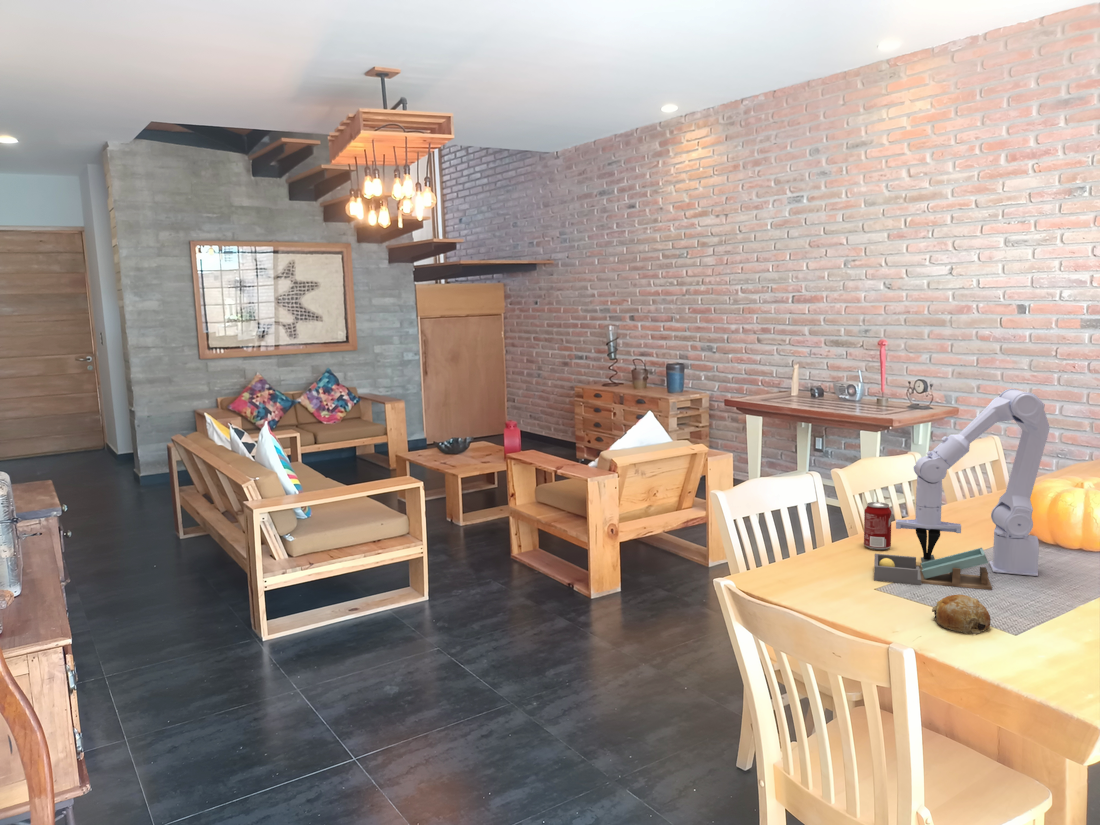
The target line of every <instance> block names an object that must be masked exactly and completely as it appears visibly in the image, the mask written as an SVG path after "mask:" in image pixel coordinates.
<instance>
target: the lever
mask: <svg viewBox="0 0 1100 825" xmlns="http://www.w3.org/2000/svg"><path fill="white" fill-rule="evenodd" d="M920 560H921V562H920V565H921V568H922V569H921V571H922V573H923V575H924V578H925V579H926V578H930V577H934V576H938V575H942V574H946V573H950V572H953V568H960V569H961V571H962V570H965V569H970V568H975V567H978V566H982V565H985V564H989V561H988V559H987V555H986V554H985V551H984V548H983V547H978V548H975V549H971V550H967V551H963V552H959V553H955V554H951V555H948V556H944V557H941V558H940V557H939V558H935V555H934V554H931V559H930V560H926V559H924V558H923V556H922V557H920Z"/></svg>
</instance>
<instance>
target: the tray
mask: <svg viewBox="0 0 1100 825" xmlns="http://www.w3.org/2000/svg"><path fill="white" fill-rule="evenodd" d="M884 558H889V559H891V560H892V561H893V562H894V564H895V567H887V566H879V562H880V561H881V560H882V559H884ZM873 563H874V566H873V567H874V569H873V572H874V573H873V581H875V582H883V583H884V582H885V583H886V582H887V583H895V584H896V583H897V584H905V585H907V584H908V585H916V586H917V585H918V586H922V583H921V575H920V570H921V569H920V566H918V565H917V557H916V556H908V555H899V554H898V555H896V554H884V553H883V554H882V553H874V562H873Z"/></svg>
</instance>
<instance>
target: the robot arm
mask: <svg viewBox="0 0 1100 825" xmlns="http://www.w3.org/2000/svg"><path fill="white" fill-rule="evenodd" d="M1007 421H1009V422H1010V421H1014V423H1015V424H1017V426H1018V427H1019V428H1020V430H1021V434H1020V435H1021V436H1020V438H1019V442H1018V445H1017V450H1016V453H1015V457H1014V459H1013V460H1014V461H1013V464H1012V468H1011V472H1010V474H1009V475H1010V476H1009V479H1008V483H1007V485H1006V489H1005V492H1004V493H1003V494H1002V495H1000V497H999V499H998V502H997V504H996V505H995V506H994V507H993V509H992V510H991V513H990V515H991V516H990V518H991V520H992V523H994V525H995V528H994V529H993V549H992V550H993V551H992V552H993V553H992V560H989V561H988V564H989V566H990V568H991V571H992V572H993V573H999V574H1000V573H1001V574H1012V575H1023V576H1032V577H1033V576H1035V577H1038V576H1039V557H1040V556H1039V555H1040V546H1039V545H1040V544H1039V538H1038V536H1037V535H1031V534H1030V533H1031V532H1032V530H1033V528H1034V522H1033V517H1032V515H1033V511H1034V508H1033V506H1032V501H1031V497H1032V494H1033V490H1034V486H1035V482H1036V480H1037V476H1038V472H1039V468H1040V464H1041V462H1042V457H1043V454H1044V450H1045V447H1046V444H1047V440H1048V437H1049V433H1050V429H1051V428H1050V427H1051V426H1050V424H1049V420H1048V418H1047V414H1046V410H1045V403H1044V402H1043V401H1042V400H1041V399H1040V398H1039V396H1038V395H1036V394H1035V393H1033V392H1029V391H1028V392H1027V391H1022V390H1019V389H1017V388H1008V389H1006V390H1004V391H1002V392H1001V393H1000V394H999V395H998V396H996V397H995V398H993V399H992V400H991V401H990V403H989V404H988V405H987V406H986V407H985V408H983V409H982V411H981V412H980V413H979V414H977V416H976V417H975V418H973V419H972V420H971V422H969V423H968V424H967V426H966V427H964V428H963V429H962V430H961V431H960V432H959V433H957V434H956V433H955V434H953V433H951V434H949V435H948V436H945V435H944V436H943V437H942V438H941V439H940V440H941V442H940V443H938V445H937V446H936V447H934V448H933V449H932V450H931V451H930V450H928V451H927V452H926V455H925V456H921V457H919V458H918V459H917V461H916V462H915V465H913V471H914V473H915V475H916V490H915V519H898V518H897V519H895V529H896V530H901V529H906V530H915V534H916V537H917V538H918V541H919V544H920V546H921V550H922V553H923V554H922V555H923V556H922V557H923V558H924V559H926V560H930V559H931V555H933V551H934V548H935V546H936V544H937V542H938V541H939V540H940V537H941V532H944V533H945V532H949V533H956V534H961V533H962V524H961V523H956V522H955V523H954V522H948V521H942V505H943V504H942V502H943V501H942V500H943V499H942V498H943V480H944V479H945V478H946V476H947V474H948V473H947V471H948V470H949V469H951V467H953V466H954V465H955V464H957V462H959V461H960V460H961V459H962V458H963V457H965V456H966V454H968V453H969V452H970V444H971V443H972V442H974V441H975V440H977V439H978V438H979V437H980V436H982V435H983V434H984V433H985V432H986V431H988V430H989V429H990V428H992V427H993V426H994V425H996V424H997V423H1000V422H1007Z"/></svg>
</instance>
